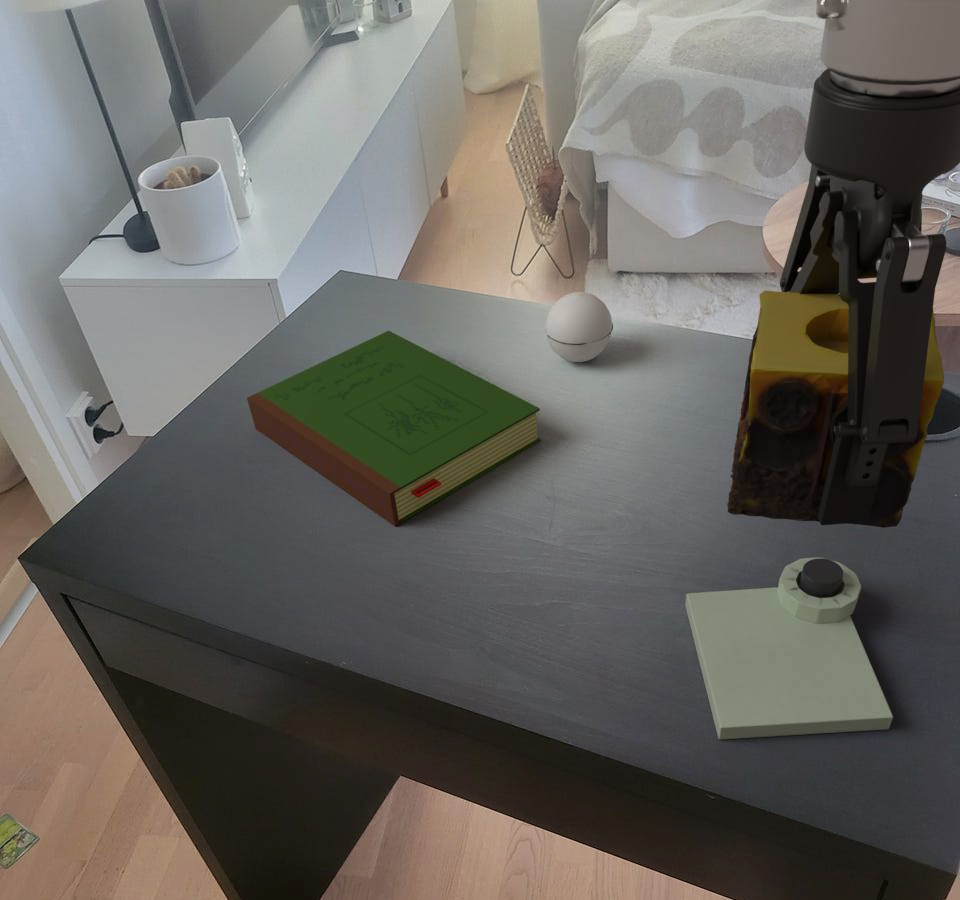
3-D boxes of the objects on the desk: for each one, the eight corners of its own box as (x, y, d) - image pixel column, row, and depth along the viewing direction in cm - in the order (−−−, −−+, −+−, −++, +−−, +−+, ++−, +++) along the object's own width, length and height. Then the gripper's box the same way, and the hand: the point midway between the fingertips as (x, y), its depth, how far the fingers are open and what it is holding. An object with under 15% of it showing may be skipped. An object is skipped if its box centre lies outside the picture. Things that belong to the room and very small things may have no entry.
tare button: (833, 571, 75) (837, 556, 74) (844, 597, 73) (848, 582, 72) (795, 574, 75) (798, 559, 74) (805, 600, 73) (808, 585, 72)
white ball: (532, 361, 107) (529, 299, 101) (575, 335, 110) (575, 273, 105) (600, 390, 101) (601, 326, 96) (644, 362, 105) (647, 298, 99)
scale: (840, 582, 78) (847, 554, 76) (902, 728, 67) (913, 701, 65) (682, 593, 78) (684, 566, 76) (718, 740, 68) (723, 713, 65)
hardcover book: (255, 428, 101) (246, 397, 98) (393, 360, 109) (388, 330, 106) (400, 530, 87) (394, 497, 84) (545, 443, 95) (544, 411, 92)
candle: (725, 518, 58) (745, 371, 51) (735, 427, 65) (754, 287, 58) (902, 533, 56) (948, 382, 49) (893, 438, 63) (932, 293, 56)
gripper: (762, 15, 53) (720, 371, 68) (900, 168, 36) (803, 591, 52) (899, 3, 52) (826, 363, 68) (1101, 151, 36) (943, 582, 51)
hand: (816, 462), depth 60 cm, fingers closed on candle, 11 cm apart
